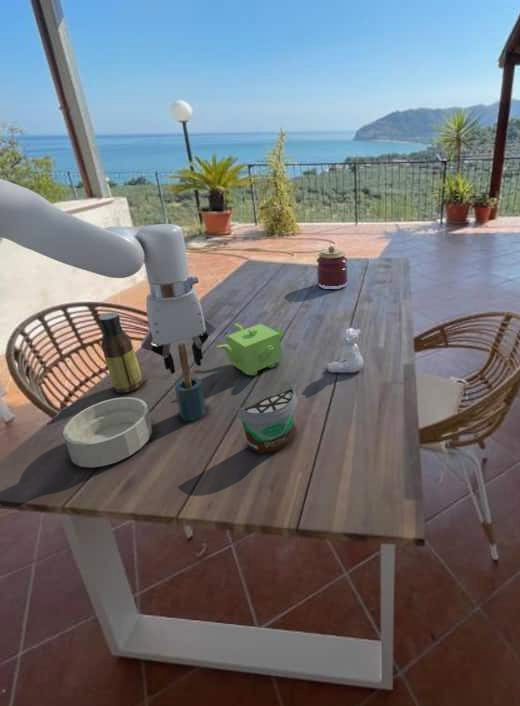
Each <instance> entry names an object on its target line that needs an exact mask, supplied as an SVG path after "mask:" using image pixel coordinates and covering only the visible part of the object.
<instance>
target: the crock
mask: <svg viewBox="0 0 520 706" xmlns="http://www.w3.org/2000/svg"><path fill="white" fill-rule="evenodd" d="M190 377H191V383H192V387H190V388H185V384H184V378H183V379H181V380H179V381H178V382H176V384H174V385H175V386H174V390H175V396H176V401H177V405H178V406H177V407H178V411H179V416H180V418H181V420H182V421H184V422H188V423H189V422H190V423H191V422H195V421H198V420H201V418H203V417H204V416H205V415H206V412H207V411H206V403H205V402H206V401H205V396H204V389H203V385H202V380H201V379H200V378H199V377H193V376H190Z"/></svg>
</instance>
